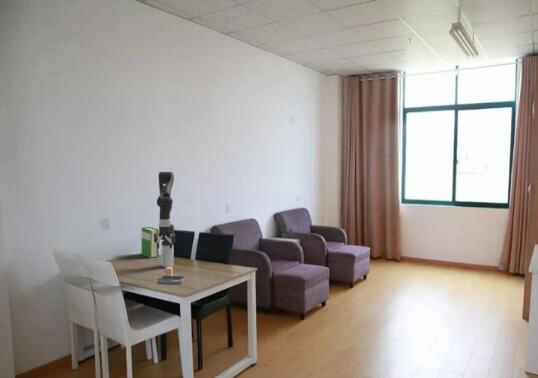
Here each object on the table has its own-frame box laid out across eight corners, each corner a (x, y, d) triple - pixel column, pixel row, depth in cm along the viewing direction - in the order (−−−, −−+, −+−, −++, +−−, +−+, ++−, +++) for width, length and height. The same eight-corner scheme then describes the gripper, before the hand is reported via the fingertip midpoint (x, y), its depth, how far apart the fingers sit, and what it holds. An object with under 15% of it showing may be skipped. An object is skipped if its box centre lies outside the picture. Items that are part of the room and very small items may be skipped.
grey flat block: (162, 279, 273) (162, 275, 273) (184, 280, 273) (184, 276, 273) (159, 283, 265) (159, 279, 265) (181, 283, 265) (181, 279, 265)
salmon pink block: (167, 276, 281) (167, 267, 281) (172, 276, 281) (172, 267, 281) (165, 278, 277) (165, 268, 277) (171, 278, 277) (171, 268, 277)
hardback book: (158, 257, 340) (158, 229, 338) (150, 258, 335) (150, 230, 334) (149, 253, 353) (149, 226, 352) (141, 254, 348) (141, 227, 347)
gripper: (176, 224, 277) (176, 247, 279) (156, 224, 278) (156, 246, 279) (173, 226, 270) (173, 249, 271) (152, 226, 270) (152, 249, 271)
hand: (164, 248), depth 275 cm, fingers open, 8 cm apart
